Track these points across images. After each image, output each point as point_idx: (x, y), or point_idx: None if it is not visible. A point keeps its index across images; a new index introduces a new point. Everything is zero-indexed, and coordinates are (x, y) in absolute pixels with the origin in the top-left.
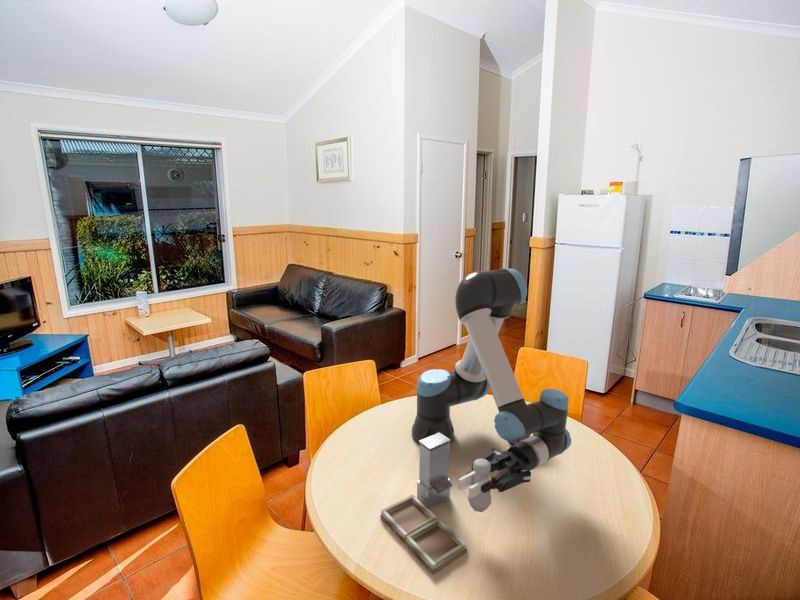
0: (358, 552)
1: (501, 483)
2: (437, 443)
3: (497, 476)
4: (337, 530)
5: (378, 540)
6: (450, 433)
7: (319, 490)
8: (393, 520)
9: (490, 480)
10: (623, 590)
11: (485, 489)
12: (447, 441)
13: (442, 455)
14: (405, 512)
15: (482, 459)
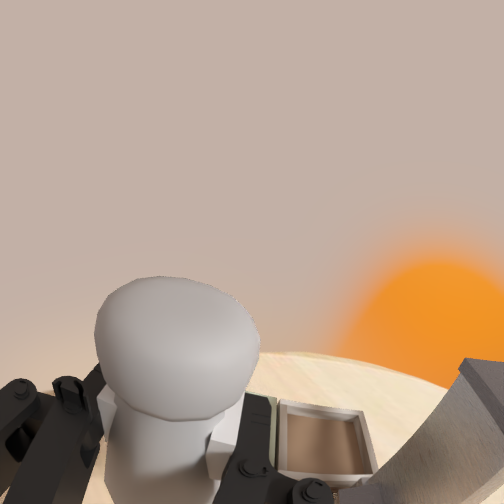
0: (303, 365)
1: (19, 382)
2: (499, 391)
3: (53, 439)
4: (356, 372)
5: (307, 392)
6: None
7: (436, 391)
8: (327, 409)
9: (97, 412)
10: None
11: None
12: None
13: (458, 461)
14: (341, 451)
15: (201, 324)
